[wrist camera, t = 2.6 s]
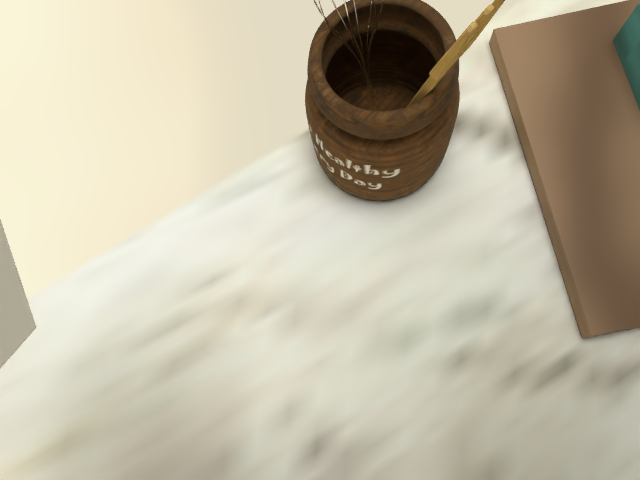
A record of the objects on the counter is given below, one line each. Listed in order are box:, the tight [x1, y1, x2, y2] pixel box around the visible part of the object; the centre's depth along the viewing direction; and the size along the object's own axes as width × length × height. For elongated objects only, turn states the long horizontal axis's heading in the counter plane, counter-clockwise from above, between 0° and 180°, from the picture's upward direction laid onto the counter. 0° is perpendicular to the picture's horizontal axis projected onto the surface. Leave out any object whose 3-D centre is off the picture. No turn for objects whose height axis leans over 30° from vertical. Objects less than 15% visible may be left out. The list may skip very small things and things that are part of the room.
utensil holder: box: [305, 0, 505, 200], centre depth 19 cm, size 6×6×12 cm
